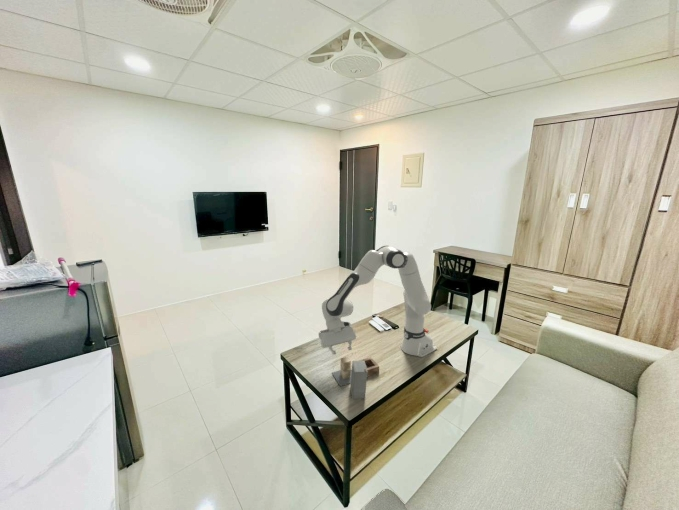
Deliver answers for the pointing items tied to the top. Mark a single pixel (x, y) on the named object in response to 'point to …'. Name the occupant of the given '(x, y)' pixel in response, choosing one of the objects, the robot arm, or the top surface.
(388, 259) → the robot arm
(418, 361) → the top surface
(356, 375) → the skincare box
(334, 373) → the slate mat
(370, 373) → the walnut pocket
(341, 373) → the birch peg block
